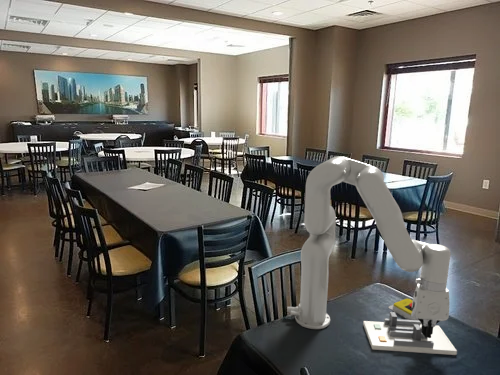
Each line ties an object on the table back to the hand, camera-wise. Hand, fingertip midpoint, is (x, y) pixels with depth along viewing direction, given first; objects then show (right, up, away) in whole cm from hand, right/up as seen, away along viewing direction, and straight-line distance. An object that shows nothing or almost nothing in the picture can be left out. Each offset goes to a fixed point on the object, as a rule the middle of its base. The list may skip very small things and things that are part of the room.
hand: (426, 335), depth 120 cm
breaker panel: (-4, -3, +5) cm, 7 cm away
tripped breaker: (-3, -2, +1) cm, 4 cm away
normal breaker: (-8, 0, +8) cm, 11 cm away
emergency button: (+4, 0, +21) cm, 21 cm away
